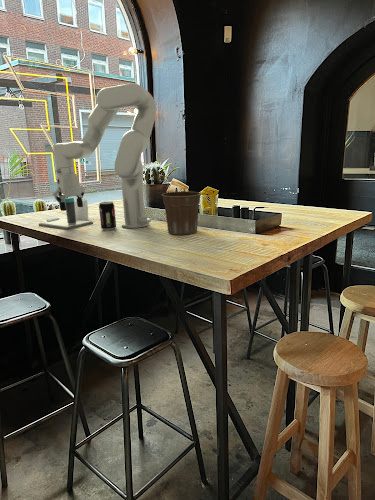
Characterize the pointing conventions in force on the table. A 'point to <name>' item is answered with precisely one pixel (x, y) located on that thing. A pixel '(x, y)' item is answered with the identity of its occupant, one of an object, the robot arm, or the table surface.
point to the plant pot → (181, 211)
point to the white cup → (81, 210)
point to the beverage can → (107, 215)
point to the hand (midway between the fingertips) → (72, 208)
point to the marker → (70, 211)
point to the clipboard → (64, 223)
